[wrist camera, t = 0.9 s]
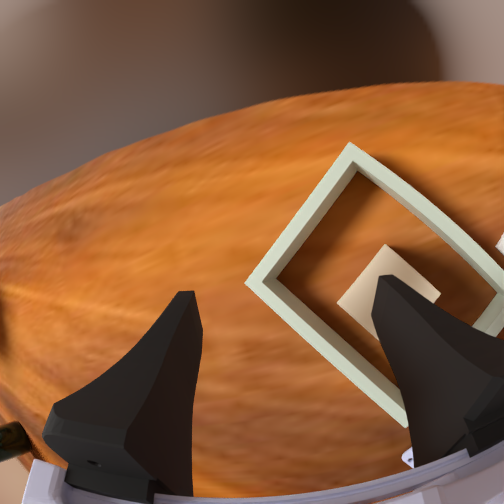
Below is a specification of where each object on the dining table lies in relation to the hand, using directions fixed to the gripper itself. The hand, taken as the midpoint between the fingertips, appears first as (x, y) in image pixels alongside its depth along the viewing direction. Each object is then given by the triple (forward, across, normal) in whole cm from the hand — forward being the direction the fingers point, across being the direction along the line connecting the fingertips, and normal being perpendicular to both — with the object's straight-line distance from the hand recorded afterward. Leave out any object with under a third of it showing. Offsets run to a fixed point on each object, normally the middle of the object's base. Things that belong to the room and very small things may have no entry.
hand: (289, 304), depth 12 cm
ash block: (+8, -9, +6) cm, 14 cm away
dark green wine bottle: (+17, +72, +64) cm, 98 cm away
